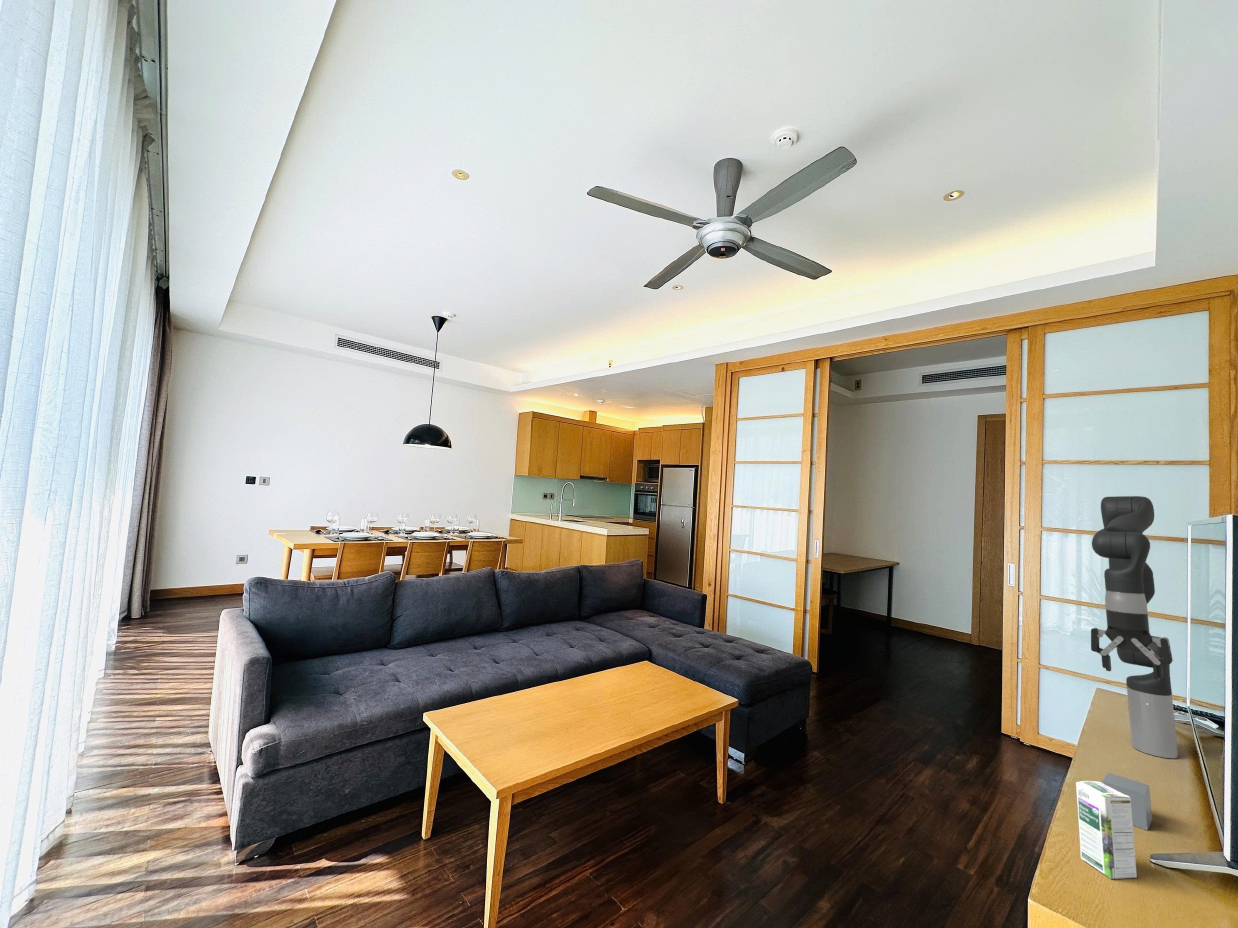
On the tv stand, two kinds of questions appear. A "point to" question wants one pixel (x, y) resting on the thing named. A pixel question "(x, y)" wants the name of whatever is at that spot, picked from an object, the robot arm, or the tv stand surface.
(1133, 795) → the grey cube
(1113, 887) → the tv stand surface
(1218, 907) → the tv stand surface
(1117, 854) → the syrup box
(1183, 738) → the tv stand surface
